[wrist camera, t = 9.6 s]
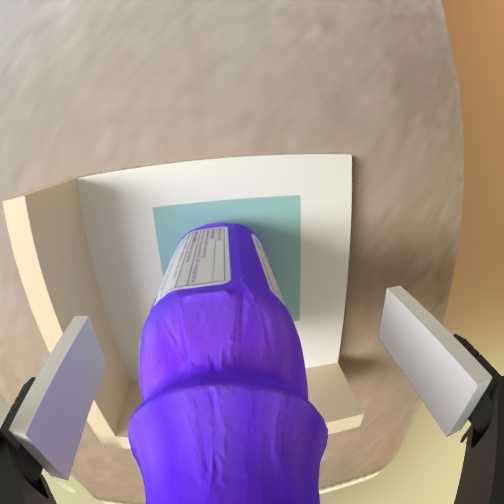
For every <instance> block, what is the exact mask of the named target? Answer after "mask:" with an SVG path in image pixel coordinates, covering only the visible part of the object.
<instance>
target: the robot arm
mask: <svg viewBox="0 0 504 504" xmlns="http://www.w3.org/2000/svg"><path fill="white" fill-rule="evenodd" d="M378 338H379V340H380V341H381V342H382V344H383V345H384V347H385V348H386V349H387V351H388V352H389V353H390V355H391V356H392V358H393V359H394V360H395V362H396V363H397V365H398V366H399V367H400V369H401V370H402V372H403V373H404V375H405V376H406V377H407V379H408V380H409V382H410V383H411V385H412V386H413V388H414V389H415V390H416V392H417V393H418V395H419V396H420V398H421V399H422V401H423V402H424V404H425V405H426V407H427V408H428V410H429V411H430V413H431V414H432V415H433V417H434V419H435V420H436V422H437V423H438V425H439V426H440V428H441V429H442V431H443V432H444V434H445V436H446V437H448V436H449V435H452V434H453V433H455V432H457V431H459V430H461V429H462V428H463V426H464V425H465V423H466V422H467V420H469V421H470V422H471V426H470V427H469V429H468V430H467V431H466V433H465V434H464V436H463V437H462V439H461V443H462V442H463V441H464V440H465V438H466V437H467V436H468V437H467V442H466V443H467V445H466V451H465V457H464V463H463V468H462V473H461V478H460V482H459V486H458V490H457V494H456V499H455V502H454V504H504V376H501V375H500V374H499V373H498V372H497V371H496V370H495V369H494V368H493V367H492V366H491V365H490V364H489V363H488V362H487V361H486V360H485V358H484V357H483V356H482V355H479V352H478V351H477V350H476V349H474V348H473V346H472V345H471V344H470V343H469V342H468V341H467V340H466V339H464V338H462V337H460V336H458V335H457V334H454V335H452V334H451V333H450V332H449V331H448V330H447V329H446V328H445V327H444V326H443V325H442V324H441V323H440V322H439V321H438V320H437V319H435V318H434V317H433V316H432V315H431V314H430V313H429V312H428V311H427V310H426V309H425V308H424V307H423V306H422V305H421V304H420V303H419V302H418V301H417V300H415V299H414V298H413V297H412V296H411V295H410V294H409V293H408V292H407V291H406V290H405V289H404V288H402V287H401V286H396V287H390V288H387V290H386V296H385V302H384V308H383V313H382V318H381V323H380V328H379V333H378ZM106 366H107V362H106V359H105V357H104V355H103V352H102V350H101V347H100V344H99V342H98V339H97V337H96V334H95V331H94V329H93V326H92V323H91V320H90V317H89V316H75V317H74V318H73V320H72V321H71V322H70V324H69V325H68V327H67V329H66V330H65V332H64V333H63V335H62V336H61V338H60V339H59V341H58V342H57V344H56V346H55V347H54V349H53V350H52V352H51V354H50V355H49V357H48V359H47V360H46V362H45V363H44V365H43V367H42V369H41V370H40V372H39V374H38V375H37V377H36V378H35V377H32V378H31V379H30V380H29V381H28V382H27V383H26V384H24V386H23V387H22V389H21V391H20V393H19V394H18V395H19V396H17V398H16V400H15V404H13V405H12V407H11V409H10V411H9V413H8V415H7V417H6V419H5V420H4V422H3V424H2V426H1V428H0V504H56V501H55V499H54V497H53V495H52V493H51V491H50V489H49V487H48V484H47V482H46V480H45V478H44V477H43V475H42V474H41V472H42V469H43V468H44V469H45V470H46V471H47V472H48V473H49V474H50V475H51V476H54V477H58V478H61V479H65V480H69V476H70V472H71V469H72V465H73V462H74V458H75V455H76V451H77V448H78V445H79V442H80V439H81V435H82V432H83V429H84V426H85V423H86V420H87V417H88V414H89V412H90V409H91V406H92V403H93V400H94V397H95V395H96V392H97V389H98V387H99V384H100V381H101V379H102V376H103V374H104V371H105V368H106Z"/></svg>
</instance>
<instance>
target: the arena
mask: <svg viewBox="0 0 504 504" xmlns="http://www.w3.org/2000/svg"><path fill="white" fill-rule="evenodd" d="M351 205H352V155H351V154H279V155H257V156H240V157H226V158H213V159H202V160H192V161H183V162H174V163H166V164H158V165H151V166H144V167H137V168H130V169H124V170H118V171H112V172H106V173H100V174H95V175H90V176H85V177H79V178H75V179H70V180H65V181H61V182H58V183H55V184H52V185H49V186H45V187H42V188H39V189H36V190H33V191H30V192H28V193H25V194H22V195H19V196H16V197H14V198H11V199H8V200H6V201H3V206H4V212H5V217H6V222H7V227H8V231H9V236H10V240H11V244H12V248H13V252H14V256H15V260H16V263H17V267H18V270H19V273H20V277H21V280H22V283H23V286H24V289H25V292H26V295H27V298H28V301H29V304H30V306H31V309H32V312H33V314H34V317H35V319H36V322H37V324H38V327H39V329H40V332H41V334H42V336H43V339H44V341H45V343H46V345H47V348H48V350H49V352H50V354H51V352H52V350H53V349H54V347H55V346H56V344H57V342H58V341H59V339H60V338H61V336H62V335H63V333H64V332H65V330H66V329H67V327H68V325H69V324H70V322H71V321H72V320H73V318H74V317H75V316H89V317H90V320H91V323H92V326H93V329H94V331H95V334H96V337H97V339H98V342H99V344H100V347H101V350H102V352H103V355H104V357H105V359H106V362H107V366H106V368H105V371H104V374H103V376H102V379H101V381H100V384H99V387H98V389H97V392H96V395H95V397H94V400H93V403H92V406H91V409H90V412H89V414H88V417H87V421H88V423H89V424H90V426H91V427H92V429H93V430H94V432H95V433H96V435H97V436H98V438H99V439H100V441H101V442H102V444H103V445H104V446H106V447H115V448H126V449H131V447H130V443H129V439H128V429H129V422H130V418H131V416H132V415H133V413H134V412H135V411H136V408H137V407H138V406H139V405H140V404H141V403H142V402H143V400H142V394H141V389H140V382H139V347H140V339H141V336H142V330H143V327H144V324H145V322H146V319H147V317H148V315H149V314H150V311H151V308H152V306H153V303H154V301H155V298H156V295H157V293H158V290H159V288H160V285H161V283H162V280H163V278H164V276H165V273H166V271H167V268H168V266H169V263H170V261H171V259H172V256H173V254H174V251H175V249H176V246H177V244H178V242H179V241H180V240H181V238H182V237H183V236H184V235H185V234H187V233H188V232H189V231H191V230H193V229H195V228H198V227H202V226H204V225H206V224H212V223H221V222H225V223H235V224H240V225H243V226H245V227H247V228H249V229H251V230H252V231H253V232H254V233H255V234H256V235H257V236H258V237H259V239H260V240H261V242H262V244H263V246H264V248H265V251H266V254H267V257H268V261H269V264H270V267H271V270H272V272H273V275H274V277H275V280H276V282H277V285H278V287H279V290H280V293H281V295H282V298H283V300H284V303H285V305H286V308H287V310H288V311H289V313H290V315H291V317H292V320H293V322H294V324H295V327H296V329H297V332H298V335H299V338H300V342H301V346H302V351H303V356H304V362H305V369H306V377H307V384H308V401H310V402H311V403H312V404H313V405H314V406H315V408H316V409H317V410H318V412H319V413H320V414H321V416H322V417H323V419H324V421H325V424H326V426H327V428H328V434H331V433H335V432H340V431H344V430H348V429H351V428H355V427H359V426H360V424H361V421H362V418H363V415H364V412H363V410H362V409H361V407H360V405H359V403H358V401H357V399H356V397H355V395H354V393H353V391H352V389H351V387H350V385H349V383H348V381H347V379H346V377H345V375H344V373H343V371H342V370H341V368H340V366H339V364H338V357H339V351H340V343H341V336H342V328H343V319H344V310H345V301H346V290H347V279H348V266H349V251H350V233H351Z"/></svg>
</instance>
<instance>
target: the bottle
mask: <svg viewBox="0 0 504 504" xmlns="http://www.w3.org/2000/svg"><path fill="white" fill-rule="evenodd" d="M139 382H140V389H141V394H142V400H143V402H142V403H141V404H140V405H139V406H138V407H137V408H136V411H135V412H134V413H133V415H132V416H131V418H130V422H129V429H128V439H129V443H130V447H131V450H132V453H133V455H134V457H135V459H136V461H137V463H138V465H139V467H140V470H141V473H142V476H143V481H144V486H145V493H146V504H320V500H319V491H318V481H319V468H320V461H321V458H322V456H323V453H324V450H325V448H326V445H327V439H328V428H327V426H326V424H325V421H324V419H323V417H322V416H321V414H320V413H319V412H318V410H317V409H316V408H315V406H314V405H313V404H312V403H311V402H310V401H308V384H307V377H306V369H305V362H304V356H303V351H302V346H301V342H300V338H299V335H298V332H297V329H296V327H295V324H294V322H293V320H292V317H291V315H290V313H289V311H288V310H287V308H286V305H285V303H284V300H283V298H282V295H281V293H280V290H279V287H278V285H277V282H276V280H275V277H274V275H273V272H272V270H271V267H270V264H269V261H268V257H267V254H266V251H265V248H264V246H263V244H262V242H261V240H260V239H259V237H258V236H257V235H256V234H255V233H254V232H253V231H252V230H251V229H249V228H247V227H245V226H243V225H240V224H235V223H225V222H221V223H212V224H206V225H204V226H202V227H198V228H195V229H193V230H191V231H189V232H188V233H187V234H185V235H184V236H183V237H182V238H181V240H180V241H179V242H178V244H177V246H176V249H175V251H174V254H173V256H172V259H171V261H170V263H169V266H168V268H167V271H166V273H165V276H164V278H163V280H162V283H161V285H160V288H159V290H158V293H157V295H156V298H155V301H154V303H153V306H152V308H151V311H150V314H149V315H148V317H147V319H146V322H145V324H144V327H143V330H142V336H141V339H140V347H139Z"/></svg>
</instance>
